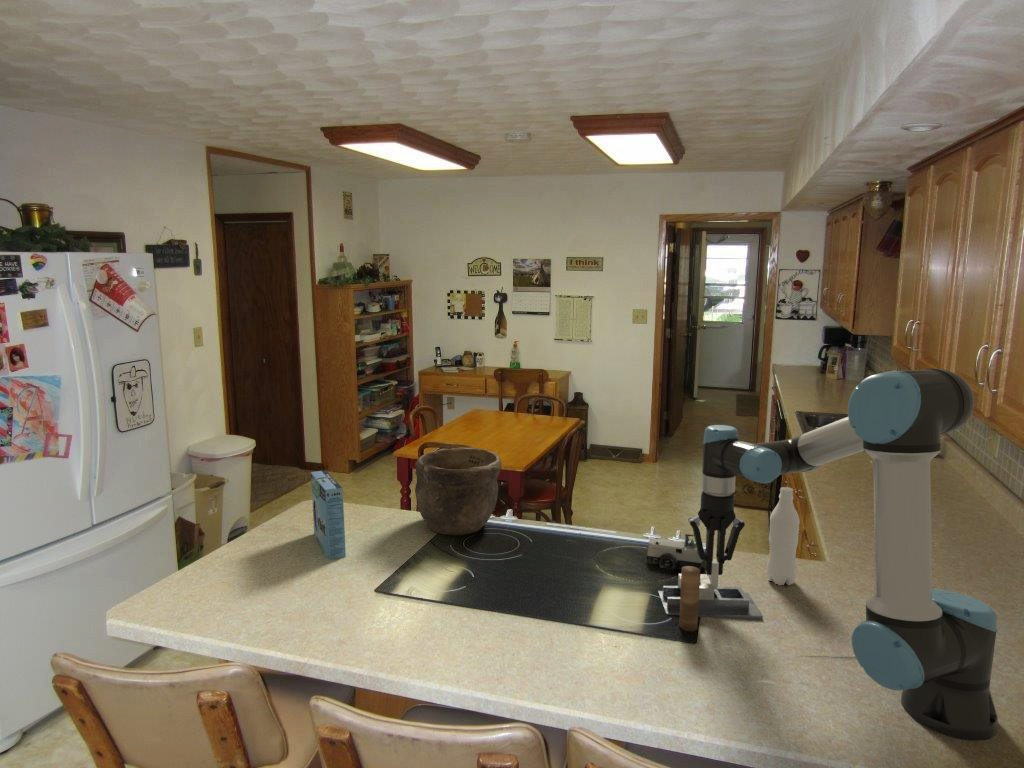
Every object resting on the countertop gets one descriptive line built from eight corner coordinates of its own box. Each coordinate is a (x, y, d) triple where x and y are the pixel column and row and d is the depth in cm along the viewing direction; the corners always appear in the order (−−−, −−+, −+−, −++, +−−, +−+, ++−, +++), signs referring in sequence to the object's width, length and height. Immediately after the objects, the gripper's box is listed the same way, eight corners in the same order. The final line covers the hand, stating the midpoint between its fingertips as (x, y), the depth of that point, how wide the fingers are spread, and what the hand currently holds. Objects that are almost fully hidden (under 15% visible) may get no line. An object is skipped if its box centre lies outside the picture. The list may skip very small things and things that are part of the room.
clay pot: (468, 559, 196) (468, 472, 193) (397, 541, 210) (396, 459, 206) (517, 531, 219) (517, 452, 215) (450, 516, 232) (449, 441, 228)
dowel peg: (699, 633, 156) (701, 573, 154) (680, 633, 157) (683, 573, 154) (695, 624, 160) (698, 566, 158) (677, 624, 161) (679, 565, 158)
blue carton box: (346, 570, 189) (343, 487, 186) (327, 573, 187) (324, 490, 184) (331, 545, 207) (328, 469, 203) (313, 548, 204) (310, 471, 201)
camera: (644, 570, 191) (645, 534, 189) (649, 559, 197) (651, 525, 196) (701, 579, 185) (703, 542, 183) (705, 568, 192) (706, 533, 190)
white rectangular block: (713, 599, 165) (714, 582, 164) (684, 599, 165) (685, 581, 164) (705, 585, 172) (706, 567, 172) (677, 584, 173) (678, 567, 172)
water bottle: (797, 589, 179) (804, 494, 175) (768, 586, 180) (774, 492, 176) (792, 577, 186) (799, 485, 182) (764, 575, 187) (769, 483, 183)
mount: (762, 620, 163) (763, 605, 162) (666, 617, 164) (666, 603, 163) (747, 596, 174) (748, 583, 174) (657, 594, 175) (658, 581, 175)
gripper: (741, 487, 168) (736, 580, 172) (686, 486, 169) (682, 579, 172) (750, 497, 161) (745, 594, 164) (693, 496, 161) (688, 593, 165)
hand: (713, 586), depth 168 cm, fingers closed
